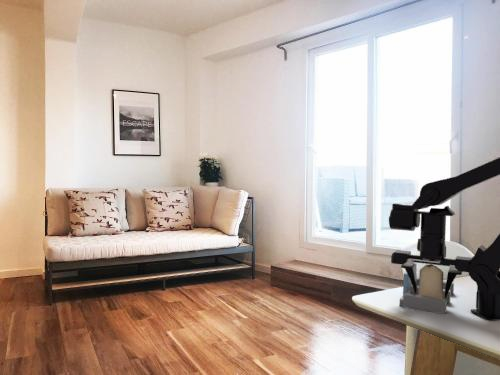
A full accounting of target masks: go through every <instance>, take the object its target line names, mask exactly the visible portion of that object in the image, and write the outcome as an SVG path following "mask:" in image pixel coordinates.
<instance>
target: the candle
mask: <svg viewBox="0 0 500 375" xmlns="http://www.w3.org/2000/svg"><path fill="white" fill-rule="evenodd" d="M418 276H419V277H418V278H419V295H421V296H427V297H434V298H441V299H443V281H444V271H443V270H442V269H441V268H439V267H438V265H434V264H425V265H424V266H423V267H422V268H420V269H419V275H418Z"/></svg>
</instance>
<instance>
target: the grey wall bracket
mask: <svg viewBox="0 0 500 375" xmlns="http://www.w3.org/2000/svg"><path fill="white" fill-rule="evenodd" d="M417 270H418V269H417V267H416V273H417V272H418V271H417ZM446 281H447V280H446ZM446 281H445V280H443V299H441V298H434V297H427V296H421V295H419V277H417V293H415V292H414V289H413V286H412V283H411V280H410V278H409V276H408V274H407V272H406V271H405V272H404V273H403V283H402V284H403V285H402V287H403V288H402V296H401V297H400V298H399V306H400V307H402V308H406V309H413V310H417V311H418V310H419V311H424V312H430V313H436V314H444V315H446V313H447V304H450V303H451V296H452V295H454V292H455V291H454V290H455V282H454V281H453V282H452V285H451V287H450V290H449V292H448V295H447V298H445V287H446ZM450 294H451V295H450Z"/></svg>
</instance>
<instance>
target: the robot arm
mask: <svg viewBox="0 0 500 375" xmlns="http://www.w3.org/2000/svg"><path fill="white" fill-rule="evenodd" d="M499 176H500V156H499V157H498V158H496V159H492V160H491V161H488V162H487V163H484V164H481V165H479V166H477V167H475V168H471V169H469V170H468V171H465V172H463V173H461V174H458V175H456V176H452V177H448V178H444V179H440V180H439V179H438V180H436V181H431V182H429V183H428V182H427V183H425V184H424V185H422V187H421V188H420V190H419V191H420V192H419V196H418V197H417V198H416V200H414V202H413V203H412V204H402V203H396V202H395V203H392V204H391V206H392V207H391V210H390V214H389V215H388V226H389V229H390V230H398V231H408V232H409V231H411V232H414V231H415V230H416V228H419V227H420V234H419V235H420V238H418V239H417V244H416V245H417V246H416V250H417V252H419V255H417V254H412V252H411V251H410V250H401V249H397V250H395V251H394V252H392V253H391V258H390V259H391V260H390V263H391V264H395V265H400V268H401V269H404V270H405V272H407V274H408V276H409V278H410V280H411V283H412V286H413V289H414V292H415V293H417V278H418V276H417V272H416V268H417V264H418V263H419V264H425V265H430V264H432V265H434V266H442V267H449V269H448V271H447V274H446V275H447V277H446V287H445V298H447V295H448V292H449V290H450V287H451V285H452V282H453V283H454V281H455V278H456V277H457V275H458V276H462V275H463V272H464V273H468V276H469V277H470V279H471V280H472V281H474V282H475V284H476V287H477V288H476V289H477V290H476V293H475V294H476V296H475V298H476V299H475V308H471V309H470V312H471V313H473V314H475V315H477V316H479V317H481V318H484V319H486V320H489V321H500V233H498V235H497V237H496V238H495V239H494V240H493V242H492V243H491V244H490V245H488V247H487V248H486V247H485V246H484V245H483V244H481V245H480V246H479V247H478V248H477V250H476V252H475V254H474V255H473V256H472V257H470V256H469V257H468V256H460V255H457V256H456V257H455V258H446V257H447V246H446V229H447V228H446V226H447V224H446V223H447V217H453V216H455V215H456V213H455V211H453V210H452V209H451V208H450V206H449V205H446V206H444V207H443V208H440V207H439V208H437V207H436V206H441V205H443V204H445V203H447V202H448V201H450V200H451V199H453V198H455V197H456V196H457V195H459V194H460V193H462V192H463V191H465V190H467V189H469V188H473V187H474V186H477V185H480V184H482V183H484V182H487V181H488V180H491V179H494V178H496V177H499ZM429 207H431V208H430V209H429V211H423V210H424V209H428V208H429ZM421 210H422V211H421Z"/></svg>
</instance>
